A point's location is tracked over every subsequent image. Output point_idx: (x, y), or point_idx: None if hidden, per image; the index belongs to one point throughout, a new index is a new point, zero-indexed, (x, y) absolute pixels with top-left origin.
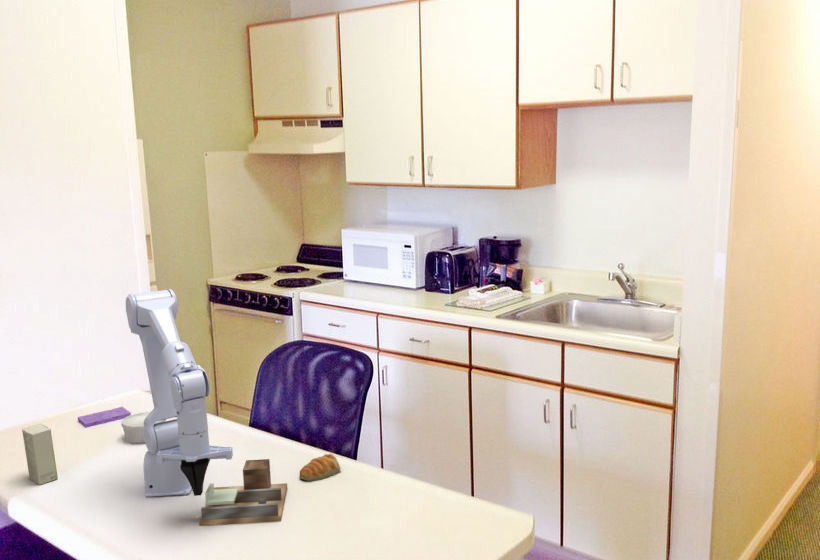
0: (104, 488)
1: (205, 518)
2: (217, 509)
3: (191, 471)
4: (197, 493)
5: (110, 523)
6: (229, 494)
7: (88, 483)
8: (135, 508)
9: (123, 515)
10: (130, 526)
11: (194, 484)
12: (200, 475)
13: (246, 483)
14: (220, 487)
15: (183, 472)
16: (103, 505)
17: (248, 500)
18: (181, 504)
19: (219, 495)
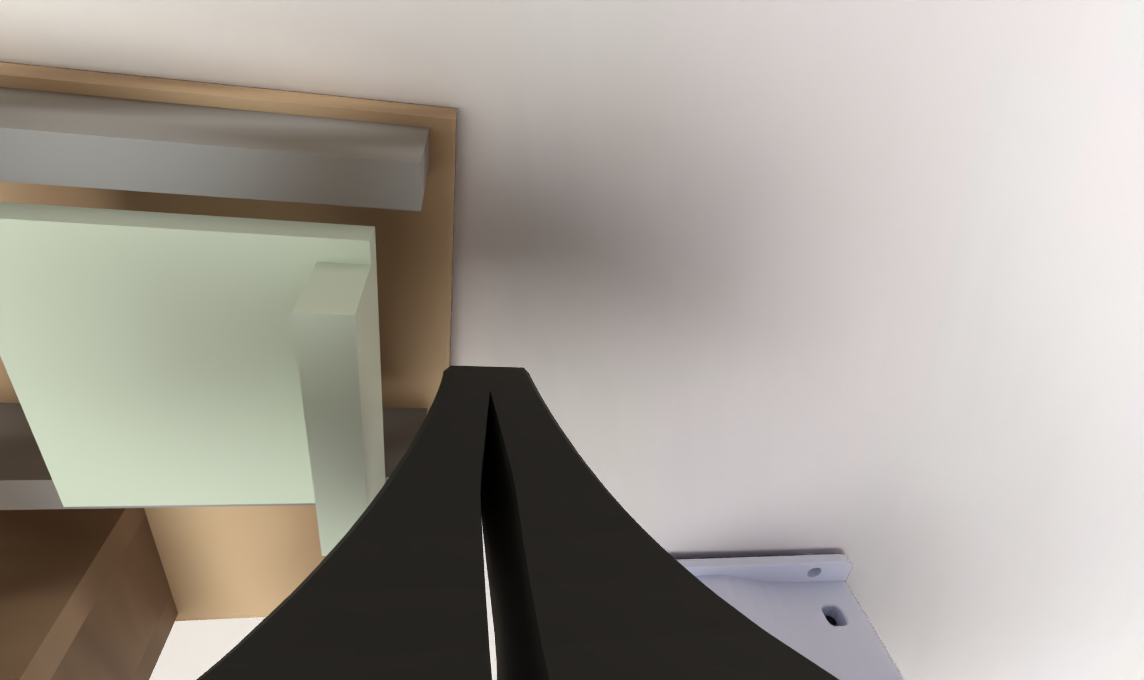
0: (1008, 630)
1: (387, 128)
2: (208, 142)
3: (574, 657)
4: (481, 376)
5: (1098, 293)
6: (107, 392)
7: (1056, 664)
8: (915, 449)
9: (998, 380)
10: (996, 224)
11: (516, 453)
12: (373, 573)
13: (42, 592)
14: None
15: (761, 633)
16: (1062, 496)
17: None
18: (638, 464)
19: (236, 386)
